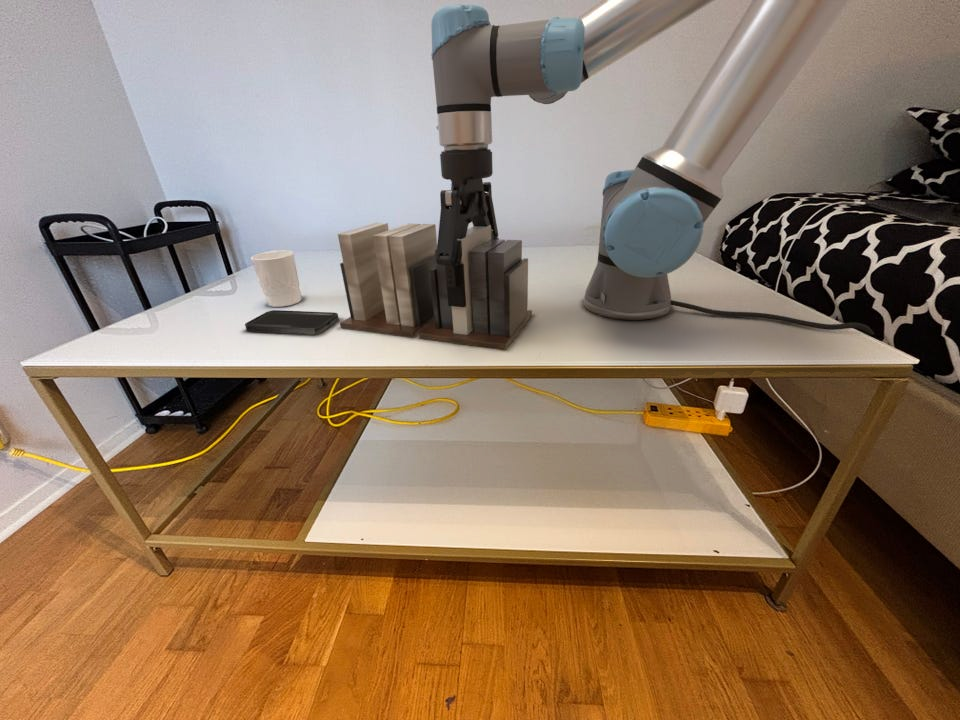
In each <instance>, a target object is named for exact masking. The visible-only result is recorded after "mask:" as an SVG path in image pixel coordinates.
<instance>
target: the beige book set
mask: <svg viewBox="0 0 960 720" xmlns="http://www.w3.org/2000/svg"><path fill="white" fill-rule="evenodd" d="M436 227H437V226H436V223H407V224H403V225H400V226H397V227H395V228H391V229H389V223H388V222H375V223H371V224H368V225H364V226H360V227H357V228H354V229H350V230H347V231H344V232H340V233H337V238H338V242H339V247H340V252H341V258H342V262H340V264H339V267H340V270H341V276H342V280H343V286H344V290H345V295H346V300H347V305H348V311H349V315H350V316H349V317H347V318H346V319H344V320H342V321H340V322H339V325H340V329H344V330H345V329H346V330H352V331H353V330H355V331H360V332H369V333H375V334H376V333H377V334H383V335H389V336H390V335H391V336H397V337H398V336H399V337H406V338H411V339H413V338H414V339H415V338H416V337H417V336H419V333H420V332H421V331H422V330H423V329H425V328H426V327H427V326H429V325H430V324H431V323H432V322H434V321H435V318H434V308H433V298H432V288H431V278H430V269H432V268H433V267H435V266H436V258H435V249H437V244H438V237H437V229H436Z"/></svg>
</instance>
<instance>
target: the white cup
mask: <svg viewBox="0 0 960 720" xmlns="http://www.w3.org/2000/svg"><path fill="white" fill-rule="evenodd" d="M250 259H251V262H252V266H253V268H254V272H255V274H256V277H257V279H258V283H259V286H260V288H261V290H262V293H263V294H264V296H265V300H266V302H267V305H268V306H269V307H273V308H283V307H288V306H292V305H295V304H298V303H300V302H301V301H302V299H303V298H302V292H301V289H300V279H299V274H298V269H297V265H296V260H295V254H294V251H291V250H271V251H265V252H261V253H257V254H254V255H252V256H251V257H250Z"/></svg>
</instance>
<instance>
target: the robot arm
mask: <svg viewBox="0 0 960 720" xmlns="http://www.w3.org/2000/svg"><path fill="white" fill-rule="evenodd" d="M715 1H716V0H601V1H600V2H598V3H597V4H595V5H594V6H593V7H591V8H590V9H588V10H587V11H586V12H584V13H582V14H581V15H580V16H578V17H567V18H566V17H564V18H563V17H562V18H560V17H558V16H554V17H552V18H549V19H542V20H535V21H525V22H518V23H510V24H502V25H495V24H492V23H491V22H490V16H489V12H488V10H487V9H486V8H485V7H483V6H480V5H477V4H461V3H460V4H459V3H458V4H451V5H446V6H443V7H442V8H439V9H438V10H436V12H434V14H433V16H432V18H431V25H430V27H431V29H430V30H431V61H432V68H433V69H432V71H433V80H434V91H435V93H434V94H435V102H436V114H437V115H436V116H437V123H436V130H437V131H438V141H439V146H441V147H443V151H442V150H441V152H440V153H439V159H440V173H441V177H442V179H444V180H448V181H450V182H451V184H450V189H445V190H444V189H442V190H441V191H440V193H439V196H440V215H439V223H438V224H439V225H438V234H437V254H436V262H437V263H438V264H439V265H445V271H446V283H447V296H448V306H455V307H465V306H466V295H465V278H464V264H460V263H461V258H462V243H461V240H457V239H463V238H465V237H466V234H467V229H469V224H471V223H472V225H473V226H483V227H487V226H489V225H491V239H500V238H499V231H498V225H497V224H498V223H497V219H496V214H495V207H494V201H493V194H492V191H493V190H492V182H491V181H483V179H487V178H490V177H492V176H493V173H494V171H493V151H491V149H489V145H491V144H492V143H493V124H492V105H491V104H492V98H495V97H496V98H501V97H502V98H503V97H513V96H514V97H515V96H516V97H517V96H528V97H529V98H530V99H532V100H533V101H534V102H536V103H539V104H542V105H550V104H554V103H556V102H558V101H560V100H562V99H563V98H564V97H565V96H566V95H567V93H568V92H574V91H576V90H578V89H579V88H580V86H581V85H582V84H583V83H584V82H585V81H586V80H588V79H590V78H591V77H592V76H595V75H596V74H598V73H600V72H601V71H603V70H604V69H606V68H607V67H610V66H611V65H612V64H614V63H616V62H617V61H618V60H620V59H622V58H624V57H625V56H627V55H628V54H631V53H632V52H634V51H635V50H637V49H638V48H640V47H642V46H643V45H645V44H646V43H648V42H650V41H651V40H653V39H654V38H656V37H658V36H660V35H662V34H663V33H664V32H666V31H668V30H669V29H671V28H672V27H674V26H676V25H677V24H679V23H681V22H682V21H684V20H686V19H687V18H689V17H690V16H693V14H695V13H697V12H698V11H700V10H701V9H703V8H705V7H707V6H708V5H710V4H712V3H713V2H715ZM850 1H851V0H752V1H751V2H750V4H749V6H748V7H747V9H746V10H745V12H744V14H743V15H742V17H741V18H740V20H739V22H738V23H737V25H736V27H735V28H734V30H733V31H732V33H731V34H730V36H729V37H728V40H727V41H726V43H725V44H724V46H723V47H722V49H721V51H720V52H719V54H718V55H717V57H716V59H715V60H714V61H713V63H712V66H710V68H709V70H708V72H707V73H706V74H705V76H704V78H703V80H702V81H701V83H700V84H699V86H698V88H697V89H696V91H695V92H694V94H693V96H692V98H691V99H690V101H689V102H688V104H687V106H686V107H685V109H684V110H683V112H682V114H681V115H680V117H679V118H678V120H677V121H676V123H675V124H674V126H673V128H672V130H671V132H670V133H669V135H668V136H667V137H666V140H665V141H664V142H663V144H662V146H660V147H659V148H657V149H654V150H652V151H649V152H646V153H644V154H643V155H642V157H641V158H640V160H639V162H638V163H637V164H636V166H635V168H634V169H628V170H627V169H626V170H619V171H614V172H611V173H609V174H608V175H607V176H606V177H605V180H604V186H603V189H602V197H603V198H602V208H601V219H600V231H599V241H598V242H599V243H598V251H597V252H598V253H597V263H596V266H595V268H594V271H593V273H592V276H591V278H590V280H589V281H588V282H589V283H588V285H587V286H586V290H585V293H584V298H583V306H584V308H586V309H587V310H588V311H590V312H592V313H594V314H596V315H599V316H603V317H606V318H609V319H616V320H625V321H626V320H627V321H644V320H653V319H657V318H660V317H663V316H664V315H665V316H666V315H667V314H668V313H669V312H670V310H671V306H674V307H678V308H682V309H686V310H687V309H688V310H692V311H696V312H699V313H703V314H704V313H705V314H707V315H713V316H721V317H732V318H734V317H735V318H737V317H738V318H754V319H755V318H756V319H764V320H765V319H766V320H771V321H779V322H783V323H789V324H793V325H797V326H802V327H807V328H812V329H819V330H827V331H838V330H847V329H858V330H860V331H862V332H863V333H864V334H865V335H873V336H874V335H875V332H874V331H873V329H871V327H870V326H868V325H866V324H864V323H860V322H843V323H834V324H833V323H832V324H830V323H820V322H815V321H809V320H805V319H800V318H799V319H798V318H794V317H789V316H785V315H778V314H773V313H765V312H764V313H763V312H755V311H754V312H753V311H731V310H730V311H728V310H718V309H712V308H707V307H703V306H699V305H696V304H691V303H688V302H687V303H686V302H682V301H677V300H673V299H672V294H671V288H670V282H669V275H668V274H671V273H672V272H675V271H676V270H678V269H680V268H681V267H682V266H684V265H685V264H686V263H687V262H688V261H689V260H690V259H691V258H692V257H693V256H694V254H695V253H696V251H697V249H698V248H699V245H700V243H701V240H702V236H703V233H704V224H705V222H706V221H707V220H708V218H709V217H710V215H712V213H713V211H714V210H715V209H716V208H717V206H718V205H719V203H720V202H721V201H722V200H723V198H724V192H723V184H722V183H723V177H724V176H725V175H726V173H727V172H728V171H729V169H730V168H731V166H732V165H733V164H734V163H735V161H736V159H737V158H738V157H739V155H740V154H741V152H742V151H743V150H744V149H745V146H746V145H747V144H748V143H749V141H750V140H751V138H753V136H754V134H755V133H756V132H757V130H758V129H759V128H760V126H761V124H762V123H763V121H764V120H765V119H766V118H767V116H769V114H770V112H771V111H772V110H773V108H774V107H775V105H776V104H777V103H778V101H779V100H780V98H781V97H782V96H783V94H784V93H785V91H786V90H787V89H788V87H789V86H790V85H791V84H792V82H793V80H794V79H795V77H796V76H797V75H798V73H799V72H800V71H801V69H802V68H803V67H804V65H805V64H806V62H807V61H808V59H809V58H810V57H811V56H812V54H813V53H814V52H815V50H816V49H817V47H818V46H819V44H820V43H821V41H822V40H823V39H824V37H826V35H827V33H828V32H829V30H830V29H831V28H832V26H833V25H834V23H836V20H837V19H838V18H839V17H840V15H841V14H842V12H843V11H844V9H846V7H847V6H848V4H849V3H850ZM473 226H472V227H473Z"/></svg>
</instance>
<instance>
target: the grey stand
mask: <svg viewBox="0 0 960 720" xmlns="http://www.w3.org/2000/svg"><path fill="white" fill-rule="evenodd" d="M436 254H437V249H435V258H436ZM470 270H471V289H472V308H473V326H474V329H473V330H472V331H471V332H470V333H469V334H468V335H463V334H455V333H454V330H453V318H452V306H448V296H447V283H446V271H445V265H439V264H438V263H437V262H436V266H435V267H433V268H432V269H430V278H431V288H432V298H433V308H434V318H435V321H434V322H432V323H431V324H430V325H429V326H427V327H426V328H425V329H423V330H422V331H421V332H420V333H419V334H418V338H419V340H421V339H422V340H429V341H436V342H442V343H451V344H457V345H466V346H473V347H478V348H479V347H480V348H487V349H493V350H501V351H506V350H507V349H508V347H509V346H510V345H511V343H512V342H513V341H514V340H515V338H516V337H517V335H519V333H520V332H521V330H522V329H523V328H524V326H525V325H526V323H527V322H528V321H529V320H530V318H531V317H532V315H533V310H531V309H528V306H529V304H528V300H529V299H528V297H529V296H528V295H529V258H526V257H523V240H522V239H506V240H505V239H500V238H499V239H490V240H488V241H487V242H485V243H483V244H481V245H480V246H478V247H476V248H475V249H473V250H471V251H470Z"/></svg>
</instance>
